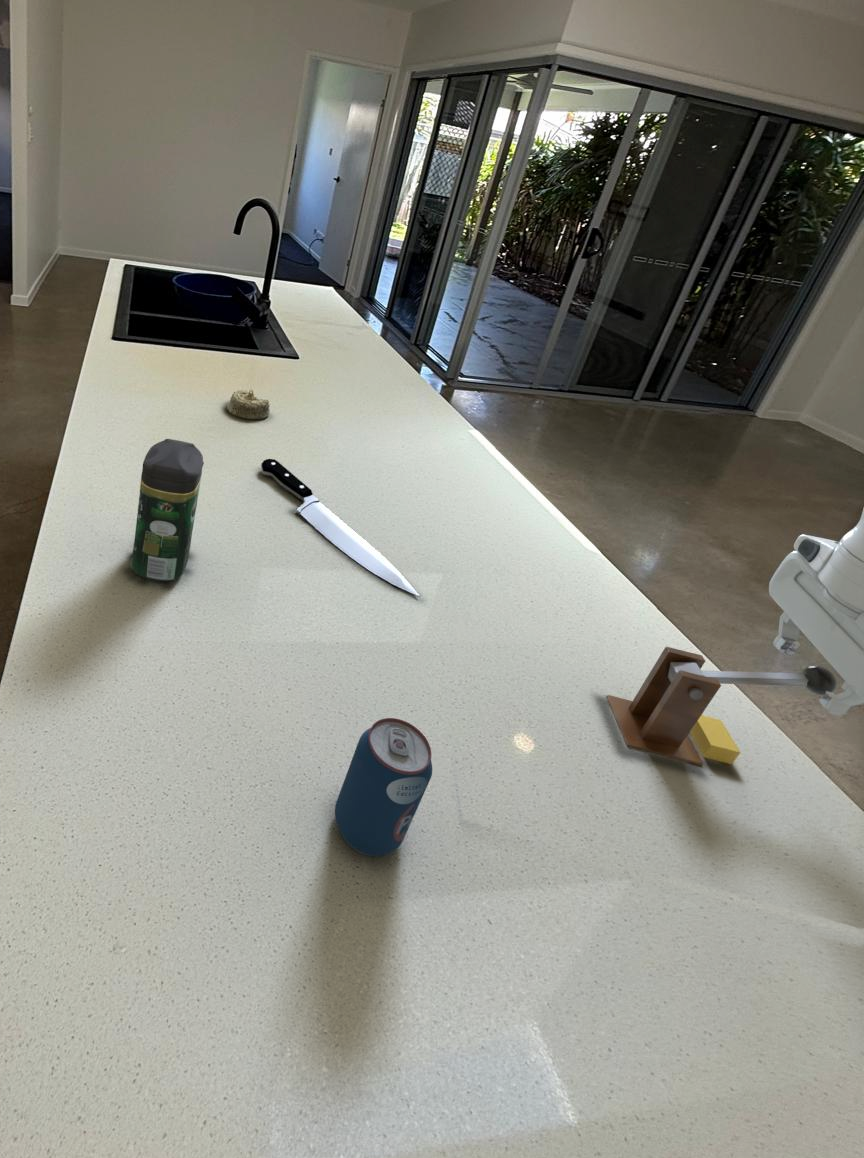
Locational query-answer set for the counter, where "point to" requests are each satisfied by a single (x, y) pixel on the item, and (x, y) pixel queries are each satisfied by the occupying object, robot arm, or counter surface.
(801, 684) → the grey metal rod
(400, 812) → the soda can
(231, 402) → the cake
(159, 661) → the counter surface
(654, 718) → the stand
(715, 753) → the butter
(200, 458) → the coffee jar
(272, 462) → the chef knife
